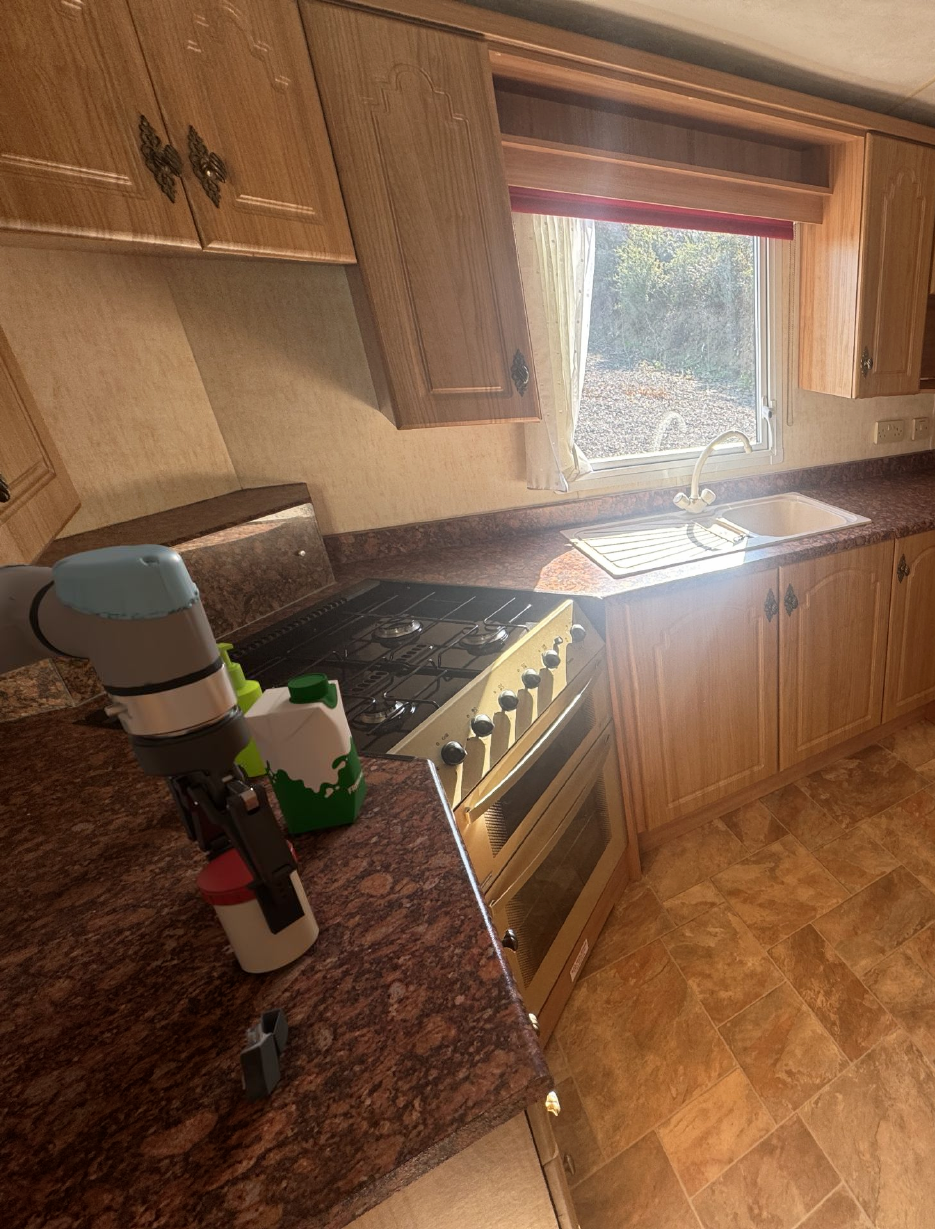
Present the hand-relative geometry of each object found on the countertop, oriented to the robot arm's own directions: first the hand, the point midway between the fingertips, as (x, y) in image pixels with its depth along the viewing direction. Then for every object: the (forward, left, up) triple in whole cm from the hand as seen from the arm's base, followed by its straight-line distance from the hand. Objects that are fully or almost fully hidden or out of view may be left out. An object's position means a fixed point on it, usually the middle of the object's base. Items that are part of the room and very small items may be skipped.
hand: (266, 909), depth 66 cm
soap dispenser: (-41, +6, -5) cm, 42 cm away
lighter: (+15, -4, -5) cm, 16 cm away
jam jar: (0, 0, -5) cm, 5 cm away
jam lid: (0, 0, +6) cm, 6 cm away
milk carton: (-21, +10, -5) cm, 24 cm away
